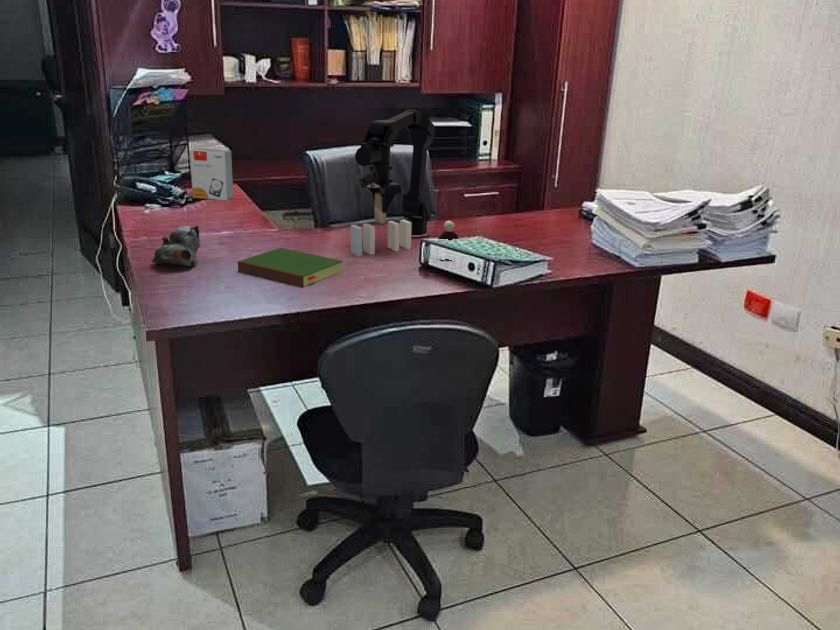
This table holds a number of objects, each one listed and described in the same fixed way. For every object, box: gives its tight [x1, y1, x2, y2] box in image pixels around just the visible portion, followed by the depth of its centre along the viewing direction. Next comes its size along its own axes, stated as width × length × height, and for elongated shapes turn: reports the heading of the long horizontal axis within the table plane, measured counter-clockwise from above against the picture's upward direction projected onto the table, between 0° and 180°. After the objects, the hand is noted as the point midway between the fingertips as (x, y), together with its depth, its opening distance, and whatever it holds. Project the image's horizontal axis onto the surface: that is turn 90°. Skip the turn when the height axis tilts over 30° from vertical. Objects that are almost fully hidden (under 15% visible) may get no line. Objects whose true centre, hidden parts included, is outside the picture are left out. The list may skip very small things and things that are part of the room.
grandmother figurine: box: [437, 220, 460, 241], centre depth 232 cm, size 8×4×13 cm, turn 118°
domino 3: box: [374, 193, 387, 225], centre depth 237 cm, size 2×5×9 cm, turn 30°
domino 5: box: [399, 219, 412, 250], centre depth 245 cm, size 2×5×9 cm, turn 30°
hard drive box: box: [189, 147, 234, 201], centre depth 307 cm, size 16×8×20 cm, turn 81°
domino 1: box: [350, 224, 363, 257], centre depth 236 cm, size 2×5×9 cm, turn 30°
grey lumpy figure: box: [151, 225, 201, 268], centre depth 220 cm, size 15×12×14 cm
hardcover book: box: [237, 247, 344, 288], centre depth 218 cm, size 25×19×4 cm
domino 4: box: [387, 220, 400, 252], centre depth 243 cm, size 2×5×9 cm, turn 31°
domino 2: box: [362, 223, 376, 255], centre depth 238 cm, size 2×5×9 cm, turn 30°
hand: (380, 211), depth 238 cm, fingers closed on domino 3, 5 cm apart
